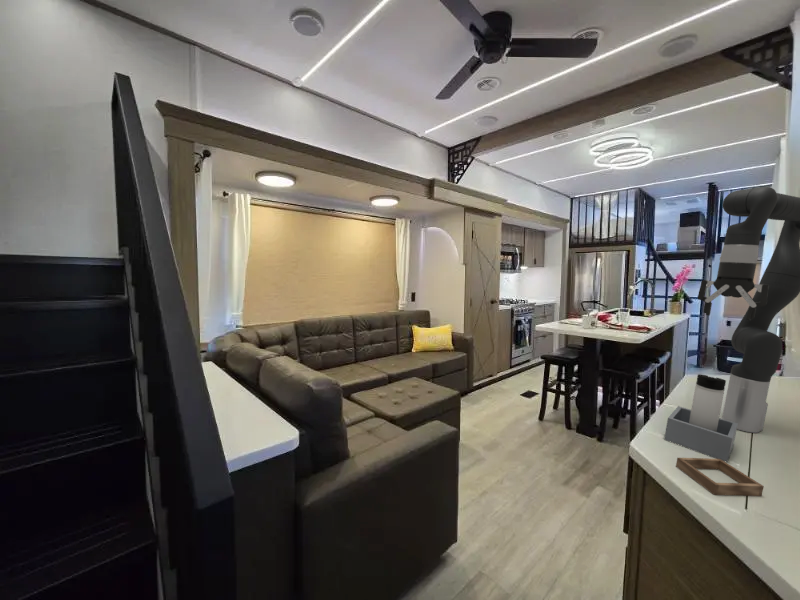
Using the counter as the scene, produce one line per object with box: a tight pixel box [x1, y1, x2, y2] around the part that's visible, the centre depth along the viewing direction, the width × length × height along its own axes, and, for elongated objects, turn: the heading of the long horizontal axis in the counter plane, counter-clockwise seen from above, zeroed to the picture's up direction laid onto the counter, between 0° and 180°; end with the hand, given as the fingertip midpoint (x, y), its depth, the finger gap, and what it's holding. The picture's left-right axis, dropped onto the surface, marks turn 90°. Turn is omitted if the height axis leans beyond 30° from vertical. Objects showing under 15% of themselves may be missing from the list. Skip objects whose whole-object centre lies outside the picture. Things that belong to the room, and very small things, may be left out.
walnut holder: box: [675, 457, 765, 497], centre depth 85 cm, size 12×11×2 cm
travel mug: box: [689, 373, 727, 432], centre depth 101 cm, size 6×7×20 cm
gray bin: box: [663, 405, 738, 463], centre depth 102 cm, size 14×14×7 cm
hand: (727, 317), depth 99 cm, fingers open, 8 cm apart
